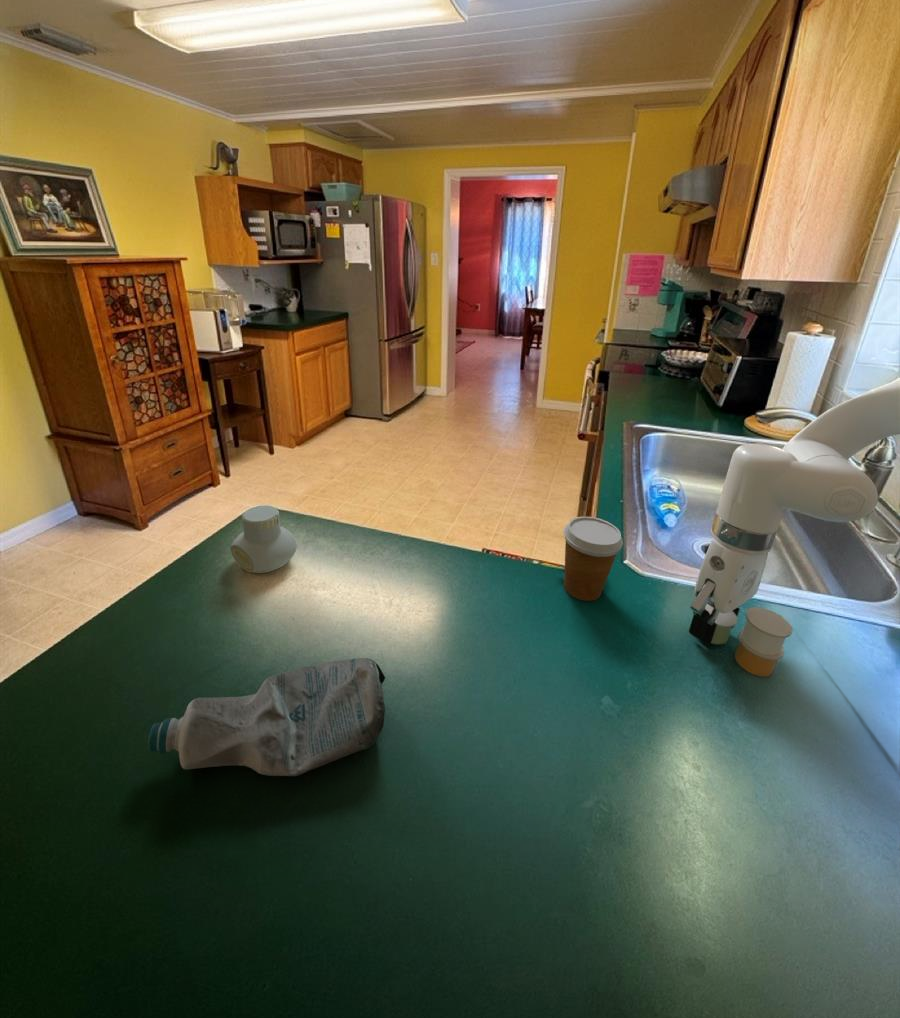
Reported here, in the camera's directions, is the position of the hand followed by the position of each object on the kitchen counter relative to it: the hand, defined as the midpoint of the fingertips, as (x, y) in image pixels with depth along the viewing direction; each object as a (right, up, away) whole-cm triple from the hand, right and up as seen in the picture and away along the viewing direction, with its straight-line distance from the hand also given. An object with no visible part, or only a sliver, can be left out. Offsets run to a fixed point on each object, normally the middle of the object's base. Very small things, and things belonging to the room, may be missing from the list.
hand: (711, 629), depth 73 cm
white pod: (+4, 0, -6) cm, 7 cm away
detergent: (-60, -5, -18) cm, 63 cm away
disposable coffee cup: (-17, +3, +9) cm, 20 cm away
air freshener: (-73, +8, +11) cm, 75 cm away
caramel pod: (+4, -3, -4) cm, 6 cm away
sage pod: (0, 0, 0) cm, 1 cm away
